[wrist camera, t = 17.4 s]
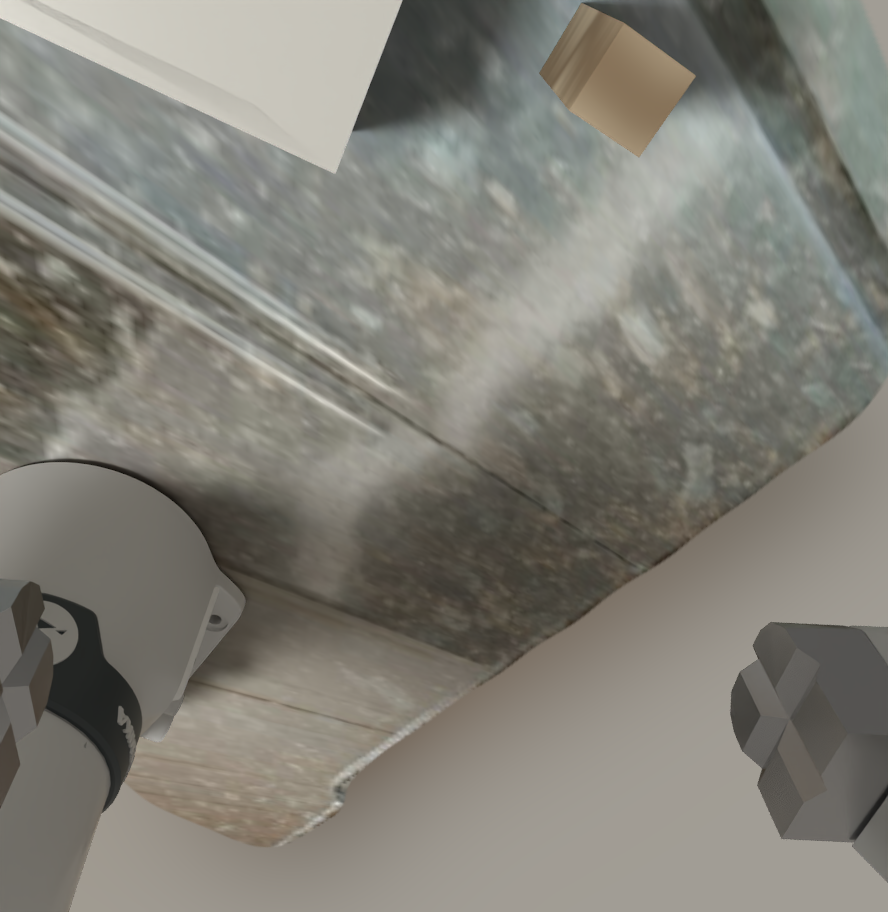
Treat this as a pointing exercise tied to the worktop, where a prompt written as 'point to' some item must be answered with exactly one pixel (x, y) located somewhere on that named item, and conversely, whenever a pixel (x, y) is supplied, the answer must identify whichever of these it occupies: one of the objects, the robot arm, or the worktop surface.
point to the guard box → (235, 58)
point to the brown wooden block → (614, 78)
